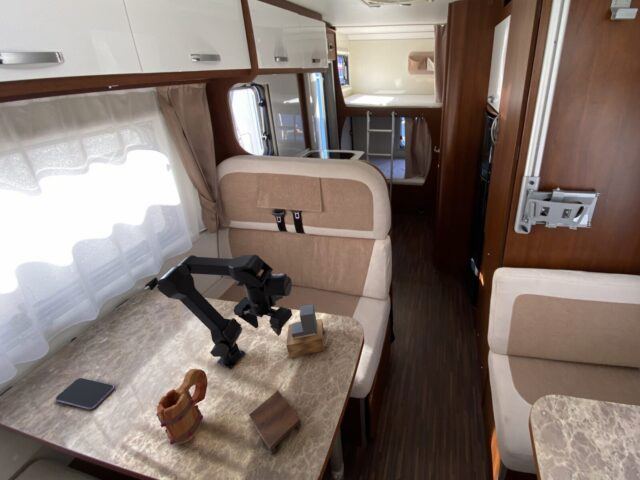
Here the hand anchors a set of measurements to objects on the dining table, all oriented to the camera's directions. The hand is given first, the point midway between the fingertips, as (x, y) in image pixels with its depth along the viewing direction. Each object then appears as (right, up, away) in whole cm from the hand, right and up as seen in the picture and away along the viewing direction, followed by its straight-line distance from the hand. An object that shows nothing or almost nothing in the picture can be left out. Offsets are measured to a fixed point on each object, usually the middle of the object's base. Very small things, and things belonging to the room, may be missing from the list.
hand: (268, 331), depth 98 cm
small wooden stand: (+8, -20, -14) cm, 25 cm away
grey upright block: (+10, -4, +8) cm, 13 cm away
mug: (-16, -21, -12) cm, 29 cm away
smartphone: (-57, -19, -3) cm, 60 cm away
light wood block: (+10, -9, +10) cm, 17 cm away
